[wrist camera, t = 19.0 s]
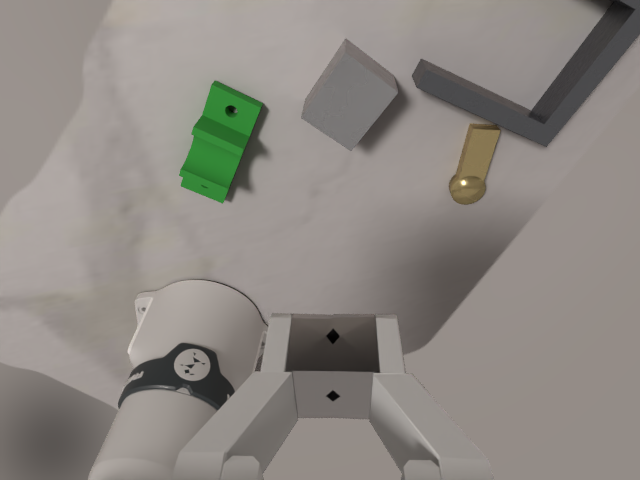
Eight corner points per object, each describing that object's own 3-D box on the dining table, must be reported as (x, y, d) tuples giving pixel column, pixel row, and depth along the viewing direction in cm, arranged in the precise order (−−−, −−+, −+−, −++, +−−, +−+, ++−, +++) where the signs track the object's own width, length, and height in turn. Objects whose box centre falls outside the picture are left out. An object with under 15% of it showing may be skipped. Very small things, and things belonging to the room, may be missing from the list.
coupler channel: (533, 132, 37) (546, 146, 35) (411, 75, 35) (416, 87, 32) (645, -11, 30) (671, -5, 28) (502, -94, 28) (517, -95, 25)
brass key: (477, 199, 42) (480, 205, 41) (445, 196, 42) (447, 203, 41) (501, 125, 37) (505, 130, 36) (465, 123, 37) (468, 128, 36)
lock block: (350, 129, 38) (350, 151, 35) (305, 98, 37) (301, 117, 33) (393, 74, 35) (398, 92, 31) (345, 37, 33) (345, 52, 30)
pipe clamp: (201, 94, 33) (255, 119, 34) (213, 79, 36) (263, 102, 37) (171, 200, 39) (217, 218, 40) (183, 180, 42) (226, 198, 43)
